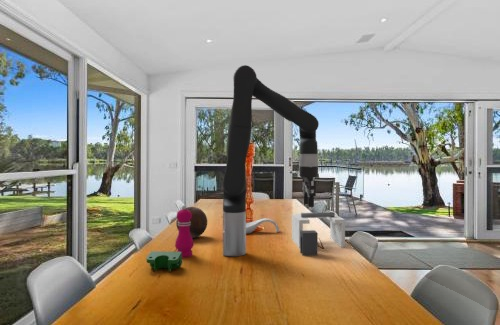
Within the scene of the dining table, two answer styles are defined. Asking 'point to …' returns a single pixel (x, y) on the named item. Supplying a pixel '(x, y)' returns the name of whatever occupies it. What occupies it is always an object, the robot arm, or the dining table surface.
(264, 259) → the dining table surface
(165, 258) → the clamp
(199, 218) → the wooden sphere
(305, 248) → the gray u-channel post
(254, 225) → the white curved piece
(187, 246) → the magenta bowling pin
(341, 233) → the white channel bracket
